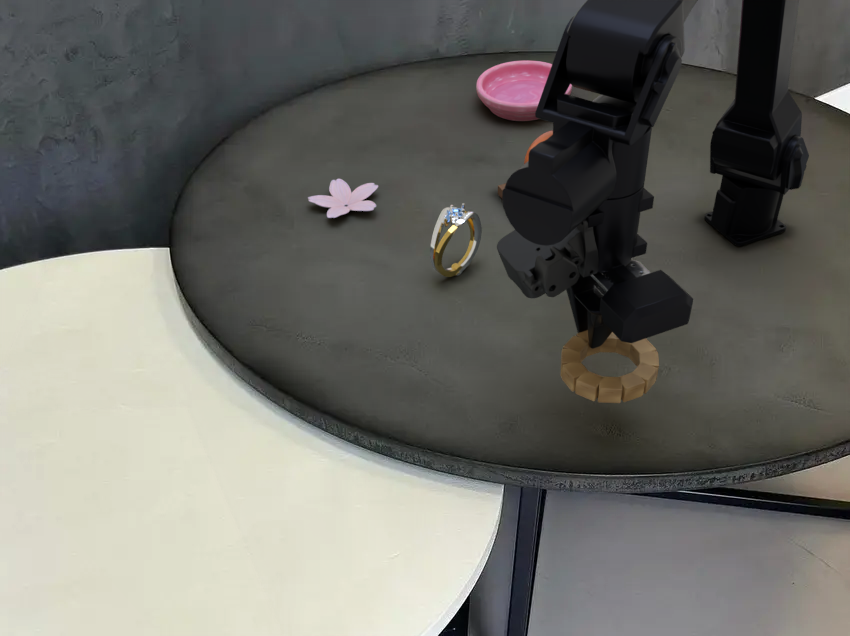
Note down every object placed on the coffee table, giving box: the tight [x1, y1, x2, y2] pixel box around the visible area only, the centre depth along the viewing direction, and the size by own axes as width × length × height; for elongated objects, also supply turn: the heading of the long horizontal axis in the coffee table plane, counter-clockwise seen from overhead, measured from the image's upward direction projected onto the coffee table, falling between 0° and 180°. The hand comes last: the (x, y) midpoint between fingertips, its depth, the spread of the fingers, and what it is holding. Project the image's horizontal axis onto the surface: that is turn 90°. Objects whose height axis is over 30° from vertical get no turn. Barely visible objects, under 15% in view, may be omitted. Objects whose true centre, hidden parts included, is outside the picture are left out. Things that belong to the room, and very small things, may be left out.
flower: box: [307, 177, 379, 219], centre depth 116 cm, size 10×10×2 cm
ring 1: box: [429, 202, 483, 278], centre depth 104 cm, size 7×3×8 cm, turn 132°
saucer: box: [476, 59, 573, 122], centre depth 130 cm, size 12×12×3 cm
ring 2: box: [560, 330, 660, 404], centre depth 85 cm, size 8×8×2 cm
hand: (589, 340), depth 87 cm, fingers closed on ring 2, 2 cm apart
